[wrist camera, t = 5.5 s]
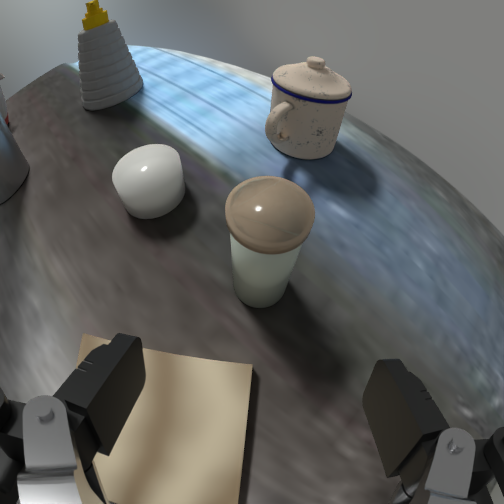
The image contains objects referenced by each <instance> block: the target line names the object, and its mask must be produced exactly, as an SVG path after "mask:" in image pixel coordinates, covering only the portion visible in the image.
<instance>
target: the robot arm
mask: <svg viewBox="0 0 504 504" xmlns="http://www.w3.org/2000/svg"><path fill="white" fill-rule="evenodd" d="M28 171H29V164H28V162H27V160H26V159H25V157H24V155H23V153H22V152H21V150H20V148H19V146H18V144H17V143H16V141H15V139H14V137H13V135H12V134H11V132H10V130H9V128H8V126H7V124H6V122H5V120H4V118H3V116H2V114H1V112H0V204H1V203H3V202H4V201H6V200H7V199H8V198H10V197H11V196H12V195H13V194H14V193H15V192H16V191H17V189H18V188H19V187H20V186H21V184H22V183H23V181H24V180H25V178H26V176H27V174H28ZM145 380H146V370H145V363H144V356H143V348H142V342H141V339H140V338H139V337H135V336H131V335H126V334H122V333H118V334H117V335H116V336H115V337H114V338H113V339H112V340H111V342H110V343H109V344H108V345H107V344H102V345H100V346H98V347H97V348H95V349H93V350H91V352H90V353H89V354H88V355H87V356H86V357H85V359H84V361H82V362H81V363H80V364H79V365H78V368H77V369H75V370H74V371H73V372H72V374H71V375H70V376H69V377H68V378H67V380H66V381H65V382H64V383H63V384H62V386H61V387H60V388H59V389H58V390H57V392H56V393H55V394H54V395H53V396H38V397H35V398H33V399H31V400H30V401H29V402H28V403H27V404H25V403H20V402H16V401H11V400H7V398H6V396H5V394H4V392H3V390H2V389H1V388H0V504H16V503H17V501H18V499H19V497H20V503H21V504H110V503H109V501H108V498H107V496H106V493H105V491H104V488H103V485H102V483H101V480H100V477H99V474H98V471H97V468H96V465H95V462H94V460H93V459H94V457H95V455H96V453H97V452H98V453H101V454H104V455H106V456H109V455H110V453H111V451H112V449H113V447H114V445H115V443H116V441H117V439H118V437H119V435H120V433H121V431H122V429H123V427H124V425H125V423H126V421H127V419H128V417H129V415H130V413H131V411H132V409H133V407H134V405H135V403H136V401H137V400H138V398H139V396H140V394H141V392H142V390H143V388H144V385H145ZM362 402H363V409H364V411H365V414H366V417H367V420H368V423H369V425H370V428H371V431H372V434H373V437H374V440H375V443H376V445H377V448H378V451H379V454H380V457H381V460H382V463H383V467H384V470H385V473H386V476H387V478H389V477H394V476H398V475H400V477H401V481H400V482H399V483H398V485H397V487H396V489H395V491H394V493H393V495H392V497H391V499H390V501H389V503H388V504H493V501H492V499H491V496H490V494H489V491H488V489H487V486H486V485H487V484H488V483H489V482H490V481H492V480H493V479H494V478H496V480H497V482H498V484H499V487H500V489H501V491H502V494H503V496H504V427H501V428H498V429H497V430H496V431H495V432H494V434H493V435H492V436H491V437H490V439H482V440H474V439H473V438H472V436H471V435H470V434H469V433H468V432H466V431H464V430H462V429H459V428H450V427H449V425H448V423H447V422H446V420H445V418H444V417H443V415H442V413H441V412H440V410H439V408H438V407H437V405H436V403H435V402H434V400H432V397H431V395H430V394H429V392H427V389H426V388H425V386H424V385H423V383H422V381H421V380H420V379H419V378H418V377H416V376H415V375H414V374H413V373H411V372H408V371H407V369H406V368H405V366H404V364H403V363H402V361H401V360H400V359H383V360H378V361H377V363H376V364H375V367H374V369H373V372H372V374H371V377H370V379H369V381H368V384H367V386H366V388H365V391H364V394H363V400H362Z"/></svg>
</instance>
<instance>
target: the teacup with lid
mask: <svg viewBox="0 0 504 504" xmlns="http://www.w3.org/2000/svg"><path fill="white" fill-rule="evenodd" d="M271 81H272V83H273V89H272V99H271V110H270V114H269V116H268V118H267V120H266V125H265V132H266V136H267V138H268V139H269V140H270V141H271V143H272V144H273V145H274V146H275V147H276V148H277V149H278V150H280V151H281V152H283V153H285V154H287V155H289V156H292V157H296V158H300V159H319V158H322V157H325V156H327V155H328V154H330V153H331V152H332V150H333V149H334V146H335V143H336V139H337V136H338V133H339V130H340V126H341V123H342V119H343V116H344V113H345V109H346V106H347V102H348V100H349V99H350V98H351V96H352V90H351V86H350V84H349V83H348V81H346V79H344V78H343V77H342V76H340V75H339V74H337V73H335V72H333V71H332V70H331V69H329V68H328V67H326V66H325V61H324V60H323V59H322V58H319V57H314V56H311V57H309V58H307V62H302V63H298V64H289V65H284V66H281V67H279V68H278V69H276V70H275V71H274V73H273V75H272V77H271Z"/></svg>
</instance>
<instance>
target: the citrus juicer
mask: <svg viewBox="0 0 504 504" xmlns="http://www.w3.org/2000/svg"><path fill="white" fill-rule="evenodd" d="M3 78H5V76H3V75H2V74H0V80H1V79H3ZM0 112H1V114H2V116H3V118H4V120H5V122H6V124H7V125H8V112H7V105H6V101H5V98H4V95H3V92H2V89H1V87H0Z"/></svg>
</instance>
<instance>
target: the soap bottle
mask: <svg viewBox="0 0 504 504" xmlns="http://www.w3.org/2000/svg"><path fill="white" fill-rule="evenodd" d="M86 6H87V12H88V13H86V14H85V17H86V18H84V19H82V23H83V28H84V30H82V31H81V32H80V33H79V34H78V41H79V43H78V50H79V53H78V58H79V69H80V71H79V76H80V79H81V80H80V87H81V96H82V98H81V100H82V105H83V106H84V108H85V109H87V110H92V111H93V110H100V109H105V108H108V107H111V106H114V105H117V104H119V103H121V102H123V101H125V100H127V99H129V98H130V97H132V96H133V95H135V94H136V93H137V92H138V91H139V90H140V89H141V88H142V84H143V79H142V77H141V75H139V71H138V68H137V67H136V64H135V62H134V60H132V56H131V53H130V52H129V49H128V47H127V45H126V44H125V40H124V38H123V36H121V32H120V29H119V28H118V25H117V23H116V21H115V20H108V14H107V10H106V11H103V9H102V8H99V3H98V0H94V1H91V2H89V3H86Z"/></svg>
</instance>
